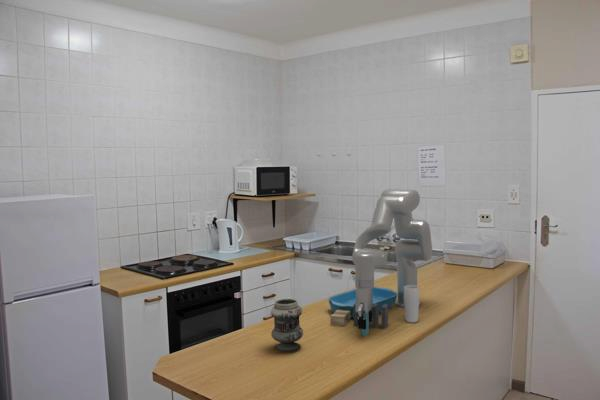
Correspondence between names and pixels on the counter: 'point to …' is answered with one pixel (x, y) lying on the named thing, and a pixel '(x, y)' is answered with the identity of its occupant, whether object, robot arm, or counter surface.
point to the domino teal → (366, 331)
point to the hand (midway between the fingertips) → (365, 325)
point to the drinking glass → (411, 302)
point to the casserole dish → (349, 299)
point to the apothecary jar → (286, 325)
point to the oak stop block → (340, 317)
